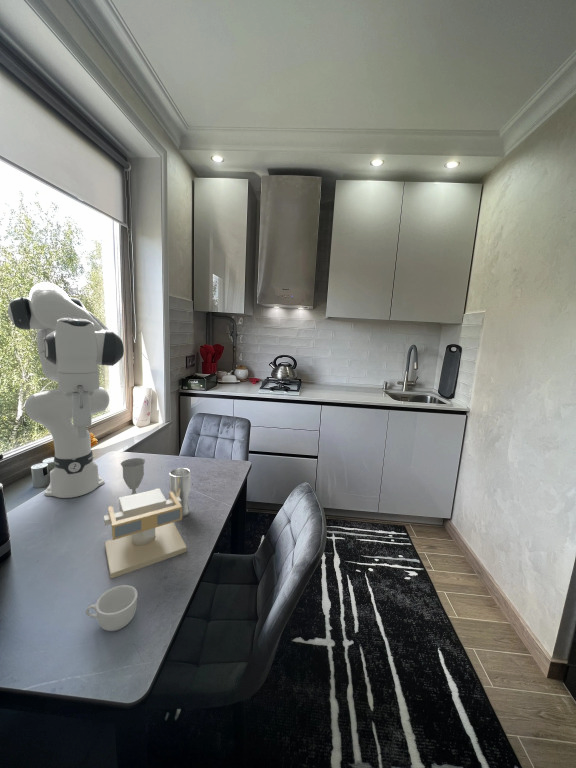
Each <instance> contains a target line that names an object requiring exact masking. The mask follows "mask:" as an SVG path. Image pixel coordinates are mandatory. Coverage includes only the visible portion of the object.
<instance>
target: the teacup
mask: <svg viewBox="0 0 576 768" xmlns="http://www.w3.org/2000/svg"><path fill="white" fill-rule="evenodd" d="M137 606H138V590H137V589H136V588H135V587H134V586H132V585H129V584H128V585H127V584H123V585H118V586H113V587H112V588H110V589H107V590H106V591H105V592H103V593H102V594H101V595H100V596H99V597H98V599H97V601H96V603H95V604H91V605H89V606H87V608H86V610H85V614H86V615H87V617H90V618H94V619H97V622H98V625H99V627H101V628H102V629H103V630H105V631H107V632H115V631H119V630H121V629H123V628H125V627H126V626H127V625H128V624H129V623H130V622H131V621H132V619H133V618H134V616H135V613H136V610H137V608H138V607H137ZM90 609H93V610H94V611H95V613H91V612H90V611H89V610H90Z"/></svg>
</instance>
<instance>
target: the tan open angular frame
mask: <svg viewBox="0 0 576 768" xmlns="http://www.w3.org/2000/svg"><path fill="white" fill-rule="evenodd" d="M169 499H171V500H172V502H173V503H174V506H171V507H167V508H163V509H159V510H156V511H152V512H148V513H144V514H141V515H137V516H133V517H129V518H126V519H122V520H118V521H116V519H115V515H114V513H115V511H114V507H113V505H110V506H108V507H107V509H108V511H107V512H108V514H107V515H109V516H110V521H111V524H110V525H111V537H112V539H113V540H115V539H119V538H122V537H126V536H129V535H132V534H136V533H139V532H142V531H146V530H149V529H153V528H156V527H159V526H163V525H166V524H169V523H173V522H174V523H176V522H179V521H182V520H183V517H182V506H181V504H180V503H179V501H178V499H177V498H176V496H175V495H174V493H173V491H172V492H170V491H168V500H169Z"/></svg>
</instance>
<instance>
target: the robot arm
mask: <svg viewBox="0 0 576 768" xmlns="http://www.w3.org/2000/svg"><path fill="white" fill-rule="evenodd" d="M7 315H8V318H9V320H10V321H11V323H12V324H13V326H14V327H16V328H17V329H20V330H27V331H29V330H31V329H32V330H37V332H36V345H37V352H38V357H39V360H40V361H39V362H40V365H41V368H42V373H43V375H44V376H45V377H46V378H47V379H49V380H50V381H53V382H56V383H57V389H46V390H42V391H39V392H38V391H37V392H36V393H32V394H30V395H29V396H28V398H27V399H26V400H25V404H24V411H25V413H26V415H27V417H28V418H29V419H30V420H31V421H34V422H36V423H38V424H40V425H42V426H43V427H45V428H46V429H47V430H48V431H49V432H50V434H51V437H52V441H53V446H54V456H53V463H54V464H53V465H54V468H53V469H52V470H50V471H49V485H48V486H47V488H45V491H44V494H43V495H44V496H49V497H50V496H51V497H56V498H61V499H68V498H76V497H79V496H80V497H81V496H83V495H86V494H88V493H90V492H93V491H94V490H95V489H96V488H98V487H100V486H102V485H104V484H105V480H104V479H103V477H102V476H101V475H100V474H99V466H98V464H97V463H96V462H94V461H93V460H94V453H93V450H92V448H91V447H92V446H91V444H92V443H91V433H90V431H89V430H88V427H90V426H91V425H92V415H95V414H98V413H101V412H104V411H106V409H108V406H109V404H110V395H109V393H108V391H107V390H106V388H104V387H102V386H100V373H99V372H100V370H99V367H98V366H109V367H113V366H114V365H116V364H118V363H119V362H120V361H121V360H122V359H123V357H124V353H125V352H124V351H125V348H124V342H123V341H122V339H121V337H120V336H119V335H118V334H117V333H116V332H115V331H113V330H110V329H109V328H108V327H107V326H106V325H105V324H104V323H103V322H102V321H101V320H100V319H99V318H98V317H97V316H96V315H94V313H92V312H91V311H89V310H87V309H86V307H85V306H84V304H83V302H82V301H81V299H79V298H77V297H76V298H75V297H71V296H70V297H69V296H68V294H67V293H66V292H65V290H64V289H62V288H61V287H59V286H58V285H57V284H54V283H51V282H46V281H45V282H44V281H43V282H38V283H37V284H35V285H33V286H32V288H31V289H30V291H29V296H28V297H25V296H24V297H23V296H20V297H19V298H18V297H17V298H14V299H12V300H11V301H10V302H9V305H8V308H7Z"/></svg>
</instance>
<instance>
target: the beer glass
mask: <svg viewBox="0 0 576 768" xmlns="http://www.w3.org/2000/svg"><path fill="white" fill-rule="evenodd" d="M191 477H192V476H191V470H190V468H187V467H176V468H173V469H172V470H171V471H169V479H168V485H169V486H168V488H169V489H168V490H169V492H172V491H173V493H174V495H175V496H176V498H177V497H180V499H181V506H182V518H185V517H186V516H187V515H189V513H190V506H189V499H190V494H191V489H192V488H191V487H192V478H191Z"/></svg>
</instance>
